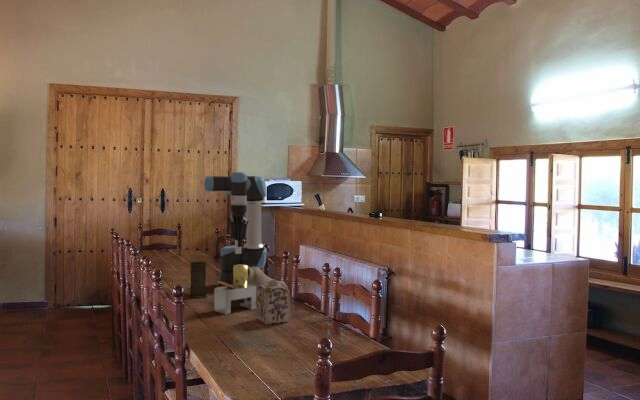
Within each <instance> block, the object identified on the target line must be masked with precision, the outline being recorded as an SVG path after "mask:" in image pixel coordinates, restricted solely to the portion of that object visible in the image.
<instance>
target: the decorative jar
mask: <svg viewBox="0 0 640 400" xmlns="http://www.w3.org/2000/svg"><path fill="white" fill-rule="evenodd" d="M278 281H279V280H277V279H274V280H269V281H268V283H265V284H262V285H260V286H259V288H258V289H257V298H256V318H257V320H259V321H260V322H262V323H263V324H265V325H273V324H272V323H275V324H282V323H281V322H283V323H289V322H290V312H291V308H290V307H291V293H290V292H291V291H290V290H289V287H288V285H285V284H286V283H285V284H281V283H278ZM288 321H289V322H288Z"/></svg>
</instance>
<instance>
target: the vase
mask: <svg viewBox="0 0 640 400" xmlns="http://www.w3.org/2000/svg"><path fill="white" fill-rule="evenodd" d="M245 265H246V264H245ZM269 280H275V279H274V278H271V277H270V276H268V275H267V274H265V273H264V271H263V270H262V268H258V267H251V268H250V267H249V266H248V284H251V285H255V286H256V299H257V289H258V288H259V286H260V285H262V284H265V283H268V281H269ZM278 283H281V284H285V285H286V282H285V281H280V280H278Z"/></svg>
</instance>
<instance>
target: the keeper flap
mask: <svg viewBox="0 0 640 400" xmlns="http://www.w3.org/2000/svg"><path fill="white" fill-rule="evenodd" d="M217 282H218V283H220V284H223V285H225V286H227V287H230V288H235V286H233V285H230V284H227V283H225V282H221V281H218V280H217ZM217 282H216V283H217Z"/></svg>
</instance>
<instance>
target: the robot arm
mask: <svg viewBox="0 0 640 400" xmlns="http://www.w3.org/2000/svg"><path fill="white" fill-rule="evenodd" d="M203 184H204V185H203V186H204V190H205V191H206V192H217V193H218V192H219V193H220V192H221V193H223V194H224V195H228V196H230V204H231V205H230V213H232V215H231V217H229V218H228V222H229V225H230V226H229V229H230V236H231V238H232V239H233V240H234V245H228V246H224V247H222V248H221V249H220V272H219V277H218V280H217V281H221V282H225V283H227V284H230V285H233V266H234V265H239V264H243V265H245V264H246V265H248V266H249V267H250V268H251V267H258V268H259V269H262V268H265V264H266V261H267V260H266V258H267V253H268V249H267V247H265V244H264V243H263V242H262V202H263V201H265V199H264V198H266V197H267V185H266V181H265V179H264V177H263V176H257V175H249V176H248V174H247V172H245V171H244V172H241V171H240V172H238V171H236V172H235V171H234V172H232V173H231V176H220V175H219V176H218V175H217V176H216V175H215V176H214V175H209V176H205V178H204V183H203ZM245 214H246V215H245ZM243 240H246V243H245V244H244V245H243ZM216 283H217V286H216V287H224V286H225V285H223V284H220V283H218V282H216Z"/></svg>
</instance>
